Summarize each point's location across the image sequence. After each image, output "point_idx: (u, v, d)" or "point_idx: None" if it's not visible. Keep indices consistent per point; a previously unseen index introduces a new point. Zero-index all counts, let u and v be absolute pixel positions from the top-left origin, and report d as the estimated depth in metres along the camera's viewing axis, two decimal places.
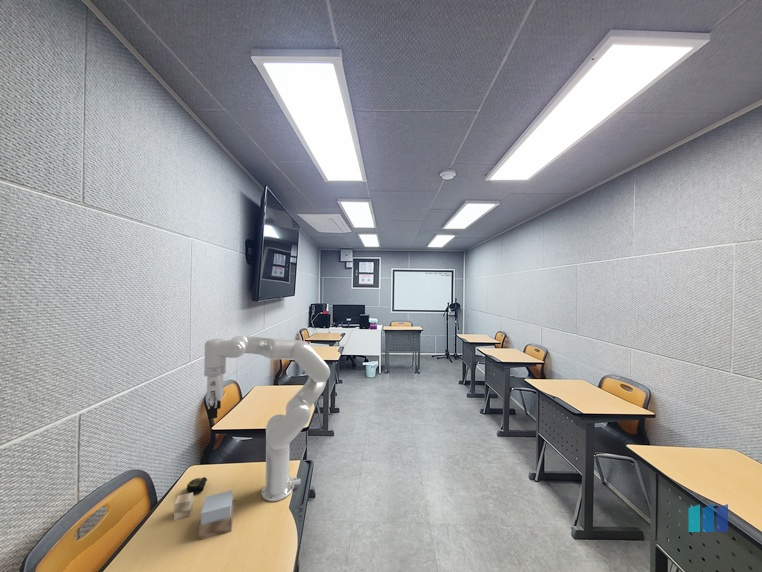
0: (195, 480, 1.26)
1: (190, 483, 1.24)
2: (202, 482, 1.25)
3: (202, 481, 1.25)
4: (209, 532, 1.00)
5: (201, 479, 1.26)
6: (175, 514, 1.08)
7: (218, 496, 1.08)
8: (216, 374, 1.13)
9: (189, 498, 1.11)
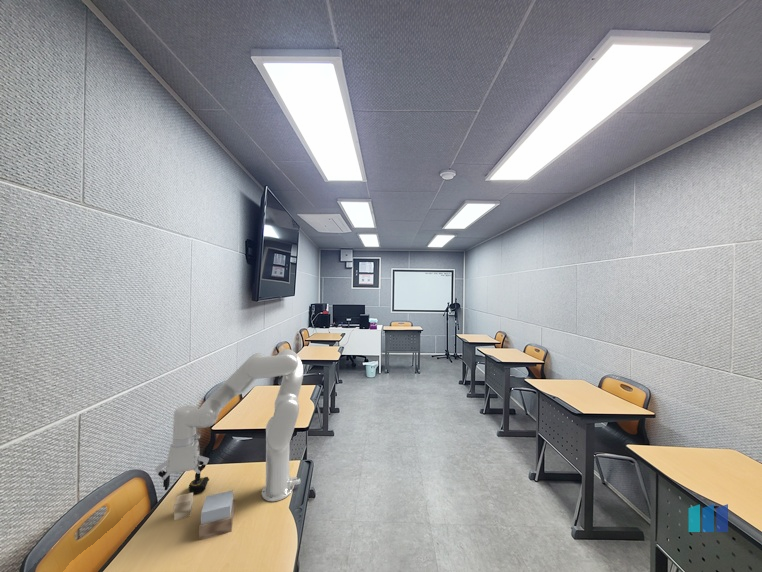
0: None
1: (192, 483, 1.24)
2: (204, 482, 1.25)
3: (204, 481, 1.26)
4: (209, 532, 1.00)
5: (203, 479, 1.27)
6: (175, 514, 1.08)
7: (219, 496, 1.09)
8: None
9: (189, 498, 1.11)
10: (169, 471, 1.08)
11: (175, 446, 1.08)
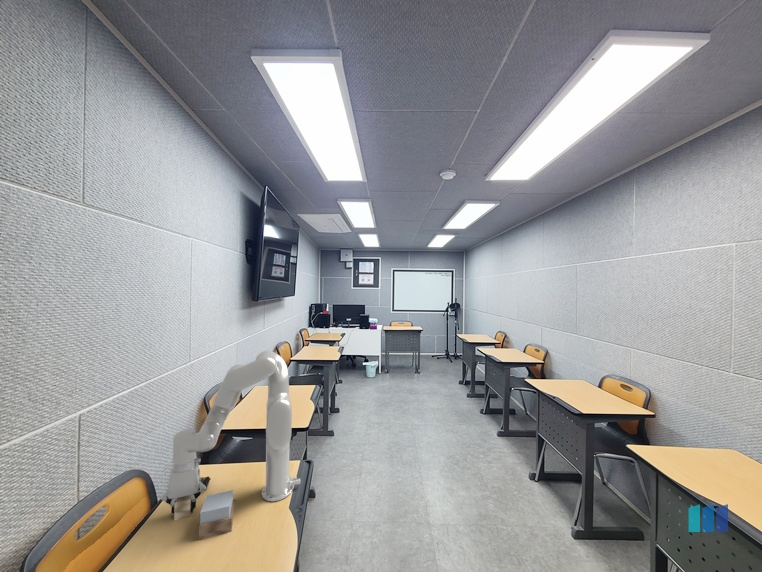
0: None
1: None
2: (205, 481, 1.25)
3: (205, 480, 1.26)
4: (209, 532, 1.00)
5: (204, 479, 1.27)
6: (175, 514, 1.08)
7: (218, 496, 1.09)
8: None
9: (189, 498, 1.11)
10: (170, 496, 1.08)
11: (175, 471, 1.08)
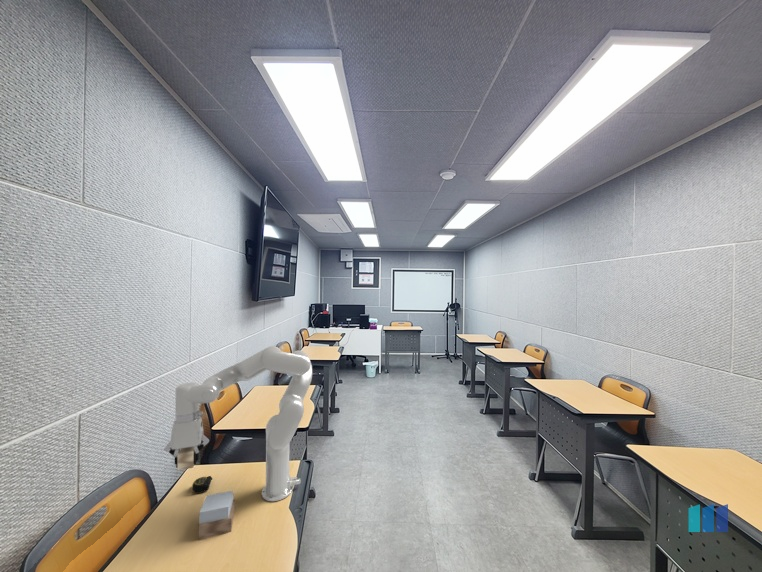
0: (200, 479, 1.27)
1: (195, 482, 1.25)
2: (207, 481, 1.26)
3: (207, 480, 1.26)
4: (209, 532, 1.00)
5: (206, 478, 1.27)
6: (178, 464, 1.09)
7: (218, 496, 1.08)
8: None
9: (192, 449, 1.11)
10: (173, 447, 1.08)
11: (178, 422, 1.08)
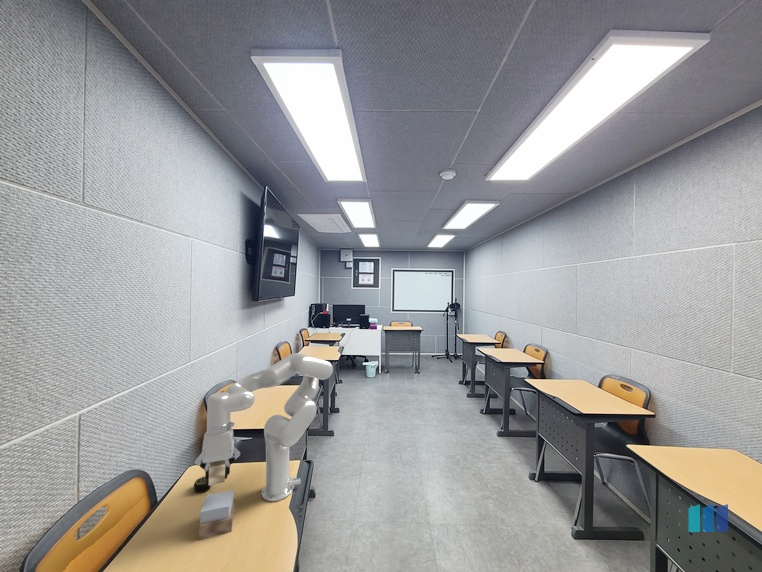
0: (202, 478, 1.27)
1: (197, 481, 1.25)
2: None
3: None
4: (209, 532, 1.00)
5: None
6: (210, 479, 1.03)
7: (219, 495, 1.09)
8: None
9: (223, 463, 1.06)
10: (205, 460, 1.03)
11: (210, 434, 1.03)
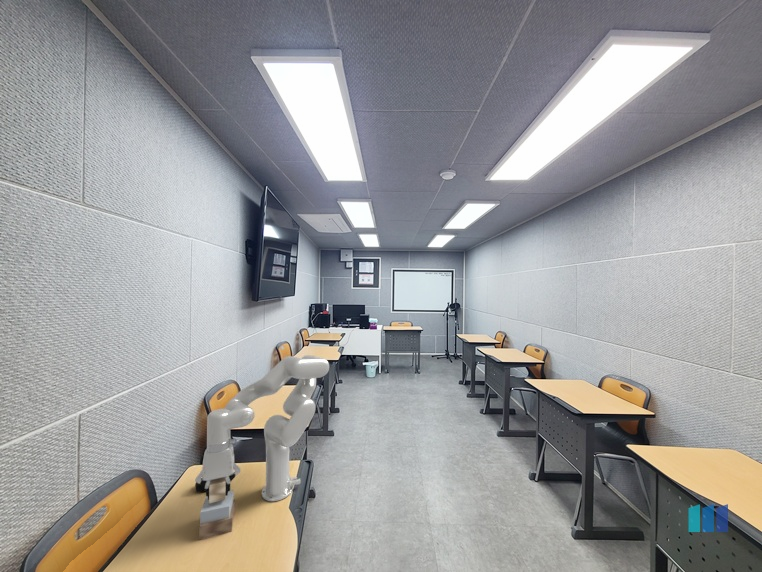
0: None
1: None
2: None
3: None
4: (209, 532, 1.00)
5: None
6: (210, 496, 1.03)
7: None
8: None
9: (224, 480, 1.06)
10: (205, 478, 1.03)
11: (210, 452, 1.03)
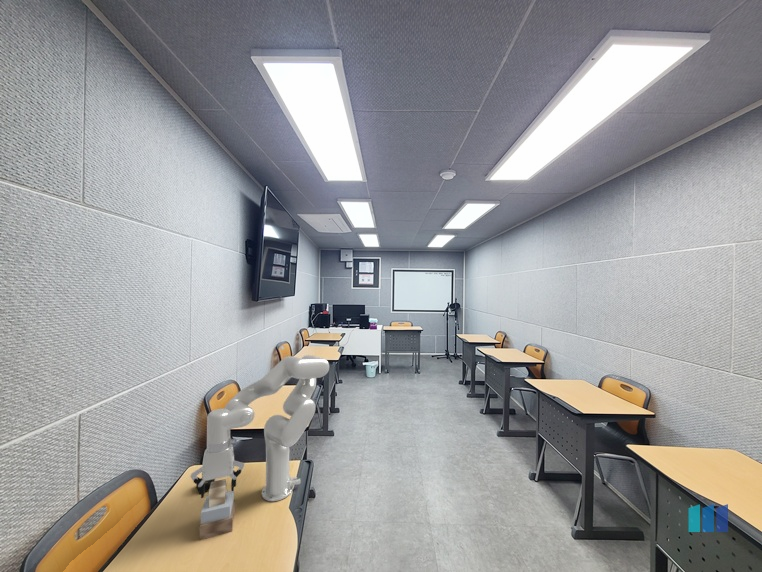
0: None
1: None
2: (211, 480, 1.26)
3: None
4: (210, 532, 1.00)
5: None
6: (210, 501, 1.03)
7: None
8: None
9: (223, 484, 1.06)
10: (205, 478, 1.03)
11: (210, 452, 1.03)
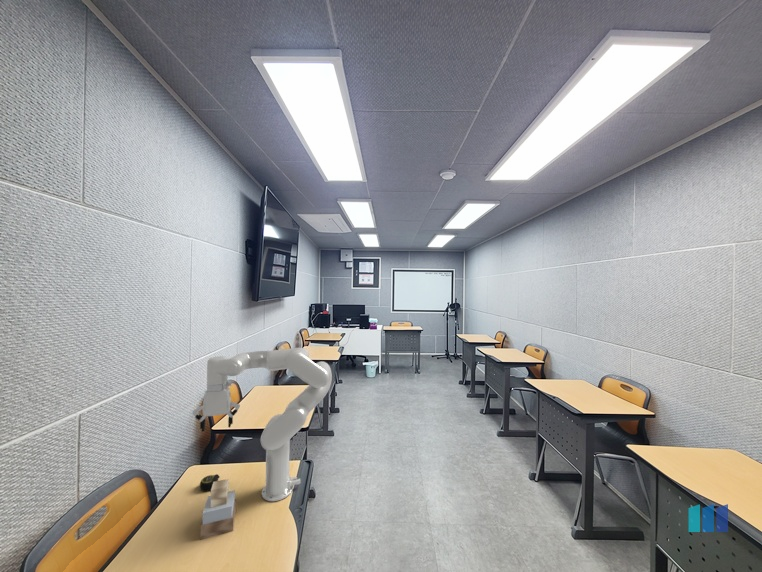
0: (208, 477, 1.28)
1: (203, 480, 1.26)
2: (215, 479, 1.27)
3: (215, 478, 1.27)
4: (210, 531, 1.01)
5: (213, 476, 1.28)
6: (212, 501, 1.03)
7: None
8: None
9: (225, 484, 1.06)
10: (205, 414, 1.18)
11: (210, 391, 1.18)
